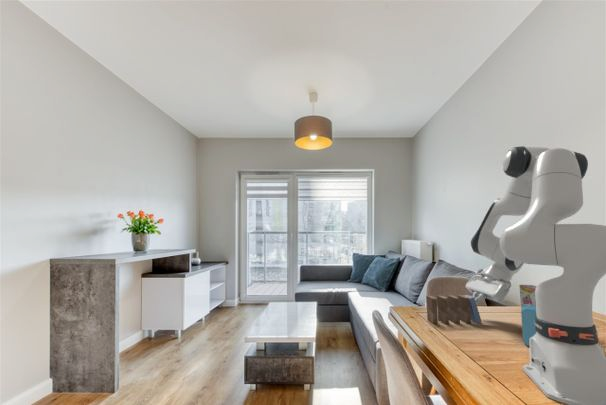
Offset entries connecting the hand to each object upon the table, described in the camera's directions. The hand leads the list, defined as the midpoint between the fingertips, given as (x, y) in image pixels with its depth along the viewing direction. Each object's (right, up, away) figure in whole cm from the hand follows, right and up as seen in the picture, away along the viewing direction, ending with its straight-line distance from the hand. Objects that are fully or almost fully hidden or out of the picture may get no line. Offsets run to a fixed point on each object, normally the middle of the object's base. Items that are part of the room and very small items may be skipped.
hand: (473, 302), depth 123 cm
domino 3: (-8, -8, -1) cm, 11 cm away
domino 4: (-4, -8, -1) cm, 8 cm away
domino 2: (-13, -8, -1) cm, 15 cm away
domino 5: (+1, -7, -1) cm, 7 cm away
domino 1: (-17, -8, -1) cm, 19 cm away
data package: (+7, -5, -28) cm, 30 cm away
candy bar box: (+14, -6, -16) cm, 22 cm away
